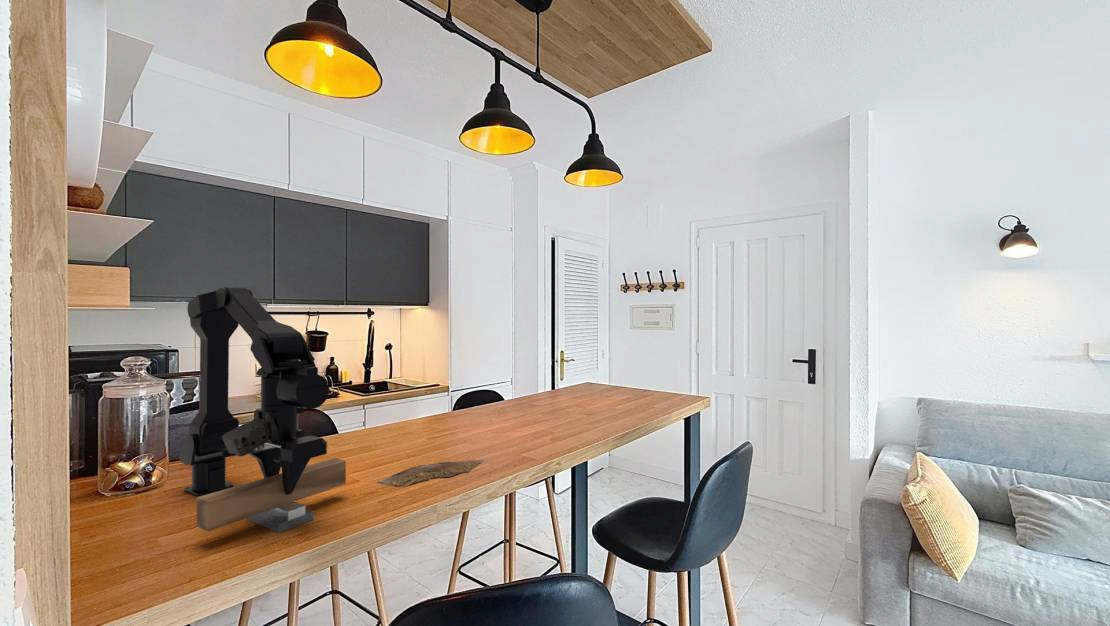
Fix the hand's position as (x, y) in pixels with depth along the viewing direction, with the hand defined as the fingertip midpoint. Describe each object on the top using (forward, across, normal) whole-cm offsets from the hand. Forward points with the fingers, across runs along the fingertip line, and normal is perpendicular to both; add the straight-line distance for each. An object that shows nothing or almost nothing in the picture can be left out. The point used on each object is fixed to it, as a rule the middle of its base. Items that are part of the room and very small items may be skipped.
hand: (279, 491), depth 86 cm
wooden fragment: (+6, +5, +33) cm, 34 cm away
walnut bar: (+2, 0, 0) cm, 2 cm away
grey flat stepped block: (+5, 0, 0) cm, 5 cm away
